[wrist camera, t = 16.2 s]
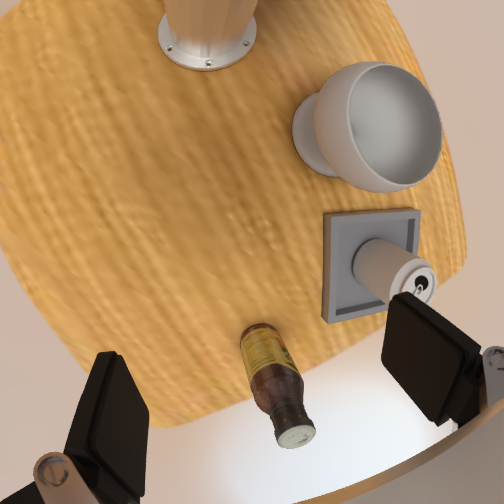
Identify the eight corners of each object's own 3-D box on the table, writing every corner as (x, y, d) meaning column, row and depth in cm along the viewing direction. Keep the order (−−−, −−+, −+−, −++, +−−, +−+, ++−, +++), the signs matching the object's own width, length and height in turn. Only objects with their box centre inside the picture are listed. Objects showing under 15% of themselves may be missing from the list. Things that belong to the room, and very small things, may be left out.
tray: (323, 213, 39) (331, 216, 37) (411, 207, 41) (420, 210, 39) (321, 316, 44) (327, 324, 41) (402, 298, 46) (410, 304, 44)
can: (397, 250, 42) (449, 276, 31) (374, 291, 43) (420, 326, 32) (366, 228, 40) (419, 252, 29) (341, 273, 41) (386, 309, 30)
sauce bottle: (280, 351, 44) (325, 448, 26) (241, 358, 44) (269, 462, 25) (277, 316, 42) (330, 413, 24) (235, 324, 41) (265, 430, 23)
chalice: (278, 83, 33) (326, 42, 19) (370, 89, 35) (441, 68, 21) (288, 187, 37) (342, 203, 23) (378, 181, 39) (451, 195, 25)
